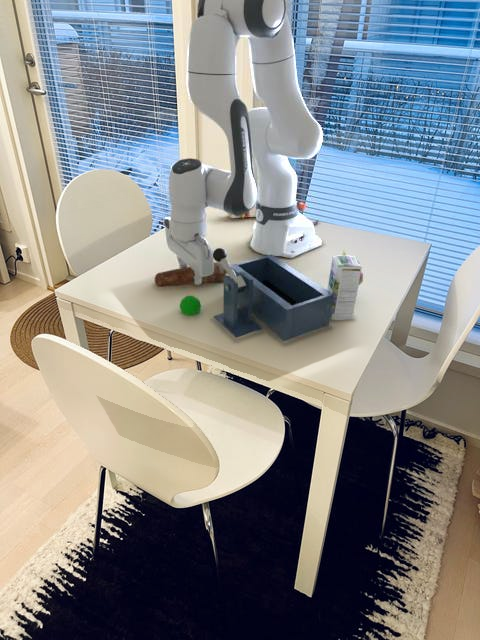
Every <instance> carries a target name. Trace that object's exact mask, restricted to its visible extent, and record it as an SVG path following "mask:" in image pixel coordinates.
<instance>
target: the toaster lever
mask: <svg viewBox="0 0 480 640" xmlns="http://www.w3.org/2000/svg"><path fill="white" fill-rule="evenodd" d="M227 256H228V254H227V251H226V250H225V249H224V248H222V247H218V248H215V249H214V251H213V259H214V262H221V264H222V265H223V267H224V268H225V270H226V272H227V275H228V276H230V278H232V279H233V280H234V281H235V282H237V283H238V293H241V292H244V291H245V288H246V286H247V284H246V283H245V281H244V280H243V278H242V277H241V276H238V277H237V276H236V274H235V273H234V271H233V269H232V268H231V266H230V265H231V264H230V263H229V261H228V260H227Z"/></svg>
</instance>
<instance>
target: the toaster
mask: <svg viewBox="0 0 480 640" xmlns="http://www.w3.org/2000/svg"><path fill="white" fill-rule="evenodd" d="M229 265H230V266H231V268H232V269H233V271H234V273H235V274H236V276H237V277H238V276H239V272H241V271H243V272H245V273H246V274H247V275H249V276H250V277H251V278H253V302H252V316H253V317H255V318H256V319H257V320H258V321H260V322H261V323H262V324H263V325H264V326H266V327H267V328H268V329H270V331H271V332H273V333H274V334H275V335H277V336H278V337H279V338H280V339H281V340H282V341H284V342H285V341H289V340H291V339H293V338H296V337H299V336H303V335H305V334H308V333H311V332H313V331H316V330H319V329H321V328H324V327H327V326H330V322H331V318H330V317H331V310H332V303H333V296H334V295H333V294H332V293H330V292H329V291H327V289H326V288H324V287H322V286H321V285H320V284H318V283H317V282H315V281H314V280H312V279H310V278H309V277H307V276H306V275H304V274H303V273H301V272H300V271H298V270H297V269H295V268H294V267H292V266H290V265H289V264H288V263H286V262H284V261H283V260H281V259H280V258H278V256H274V255H272V254H271V255H264V256H259V257H256V258H252V259H248V260H244V261H241V262H236V263H233V264H229ZM228 276H229V275H228ZM229 277H230V276H229ZM238 302H239V293H238Z"/></svg>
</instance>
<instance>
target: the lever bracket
mask: <svg viewBox="0 0 480 640" xmlns="http://www.w3.org/2000/svg"><path fill="white" fill-rule="evenodd" d="M239 276H241V277H242V278H243V280H244V281H245V283H246V284H247V286H246V288H245V291H244V292H241V293H239V302H238V283H237V282H235V281H234V280H233V279H232V278H230V277H229V275H228V274H226V276H224V282H223V312H222V313H219V314H216V315H214V316H213V318H215V320H216V321H218V323H220V325H222V326H223V327H224V328H225V329H226V330H227V331H228V332H229V333H230V334H232V336H233V337H235V338H239V337H242V336H245V335H249V334H252V333H254V332H257V331H260V330H263V327H262V326H260V325H259V324H258V323H257V322H256V321H255V320H254V319H253V314H252V302H253V278H251V277H250V276H249V275H247V274H246V273H245V272H243V271H241V272H239Z"/></svg>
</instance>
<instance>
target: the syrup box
mask: <svg viewBox="0 0 480 640" xmlns="http://www.w3.org/2000/svg"><path fill="white" fill-rule="evenodd" d="M362 269H363V268H362V265H361V263H360V261H359V260H358V259H357V257H356V255H347V254H345V255H343V254H342V255H332V257H331V264H330V271H329V276H328V277H329V278H328V283H327V289H326V290H327V291H329V292H330V293H332V294H333V295H334V296H333V303H332V310H331V317H330V320H332V321H348V320H349V321H351V320H353V317H354V310H355V306H356V301H357V296H358V289H359V286H360V285H359V279H360V274H361V272H362Z"/></svg>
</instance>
